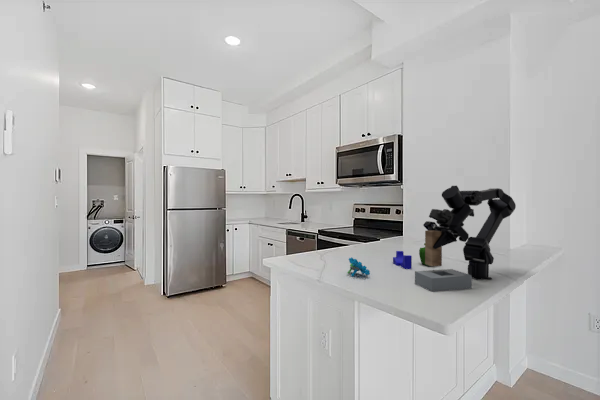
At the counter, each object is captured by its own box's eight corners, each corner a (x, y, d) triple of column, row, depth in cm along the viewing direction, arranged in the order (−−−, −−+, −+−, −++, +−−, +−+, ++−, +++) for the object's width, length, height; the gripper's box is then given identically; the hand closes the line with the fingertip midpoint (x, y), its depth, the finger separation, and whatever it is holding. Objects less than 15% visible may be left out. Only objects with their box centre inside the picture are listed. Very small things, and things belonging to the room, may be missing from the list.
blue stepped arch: (392, 263, 143) (393, 250, 143) (402, 263, 143) (402, 251, 143) (401, 269, 131) (401, 255, 131) (411, 269, 131) (411, 256, 131)
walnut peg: (434, 263, 112) (434, 230, 112) (441, 265, 108) (441, 231, 108) (425, 263, 111) (425, 230, 111) (431, 266, 107) (432, 231, 107)
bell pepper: (442, 266, 135) (443, 245, 135) (426, 267, 134) (426, 245, 134) (431, 262, 144) (432, 242, 144) (416, 263, 142) (416, 242, 142)
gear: (375, 274, 116) (358, 256, 115) (366, 286, 114) (349, 268, 113) (361, 271, 127) (345, 255, 125) (353, 282, 125) (337, 266, 124)
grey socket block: (451, 280, 113) (451, 269, 113) (471, 288, 104) (471, 275, 104) (414, 283, 109) (414, 271, 109) (432, 291, 100) (432, 278, 100)
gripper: (427, 201, 119) (402, 229, 117) (461, 202, 101) (432, 235, 99) (444, 220, 121) (420, 248, 119) (481, 224, 103) (453, 257, 101)
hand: (430, 247), depth 109 cm, fingers closed on walnut peg, 4 cm apart
